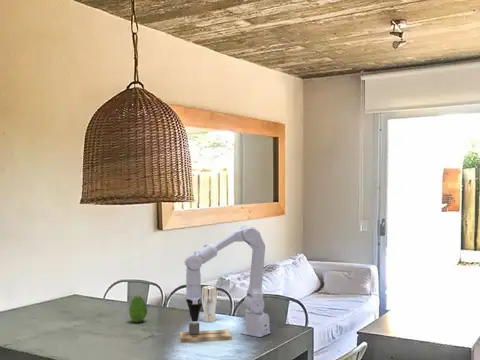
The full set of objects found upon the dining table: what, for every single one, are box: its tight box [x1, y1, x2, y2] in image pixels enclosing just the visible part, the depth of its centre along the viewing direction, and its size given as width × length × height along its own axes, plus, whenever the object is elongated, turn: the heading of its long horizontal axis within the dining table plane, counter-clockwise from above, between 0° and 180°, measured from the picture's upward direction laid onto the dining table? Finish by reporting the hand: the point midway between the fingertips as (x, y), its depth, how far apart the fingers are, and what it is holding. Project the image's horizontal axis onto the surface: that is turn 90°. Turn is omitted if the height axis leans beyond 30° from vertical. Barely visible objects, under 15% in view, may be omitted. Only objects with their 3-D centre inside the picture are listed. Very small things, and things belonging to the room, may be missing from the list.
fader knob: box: [188, 322, 200, 335], centre depth 218 cm, size 4×2×4 cm, turn 100°
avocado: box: [128, 294, 148, 323], centre depth 246 cm, size 8×8×12 cm
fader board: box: [178, 329, 233, 344], centre depth 219 cm, size 20×10×2 cm, turn 100°
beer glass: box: [201, 285, 218, 323], centre depth 248 cm, size 7×7×15 cm
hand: (194, 318), depth 218 cm, fingers open, 7 cm apart
